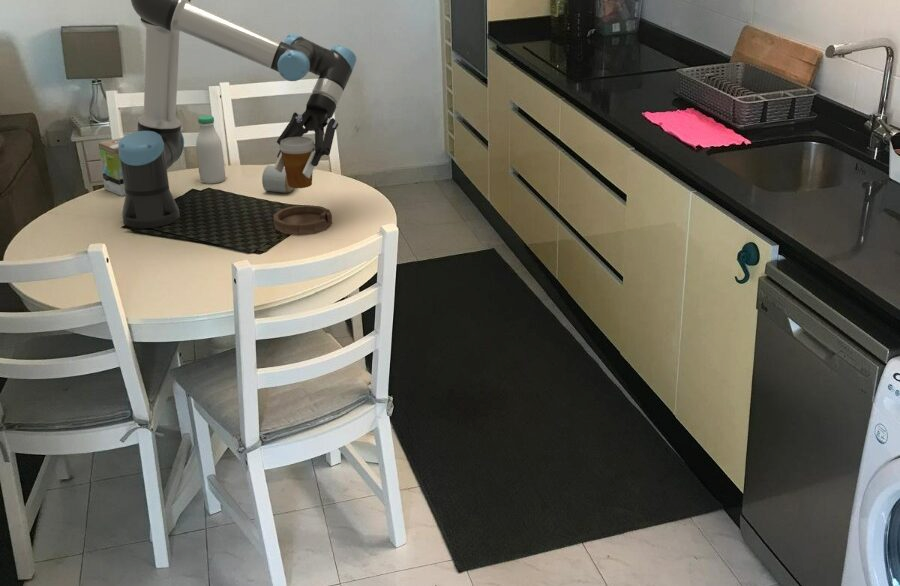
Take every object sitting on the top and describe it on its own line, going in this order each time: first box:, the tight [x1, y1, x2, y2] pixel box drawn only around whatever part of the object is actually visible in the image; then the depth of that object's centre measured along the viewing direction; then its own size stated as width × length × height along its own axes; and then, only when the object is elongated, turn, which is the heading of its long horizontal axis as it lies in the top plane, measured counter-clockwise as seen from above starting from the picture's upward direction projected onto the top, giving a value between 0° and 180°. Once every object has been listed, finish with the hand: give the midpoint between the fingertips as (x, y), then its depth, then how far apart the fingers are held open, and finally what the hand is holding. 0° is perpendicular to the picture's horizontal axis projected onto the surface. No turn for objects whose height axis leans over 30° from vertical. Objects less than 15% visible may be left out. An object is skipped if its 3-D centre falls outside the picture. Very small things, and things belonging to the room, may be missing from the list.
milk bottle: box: [195, 114, 226, 185], centre depth 293 cm, size 8×8×20 cm
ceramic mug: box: [261, 164, 295, 194], centre depth 288 cm, size 11×8×8 cm
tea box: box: [98, 137, 126, 197], centre depth 289 cm, size 15×10×15 cm, turn 138°
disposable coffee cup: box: [278, 136, 315, 189], centre depth 255 cm, size 10×10×12 cm
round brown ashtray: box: [272, 204, 333, 236], centre depth 262 cm, size 15×15×3 cm
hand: (291, 172), depth 253 cm, fingers closed on disposable coffee cup, 9 cm apart
